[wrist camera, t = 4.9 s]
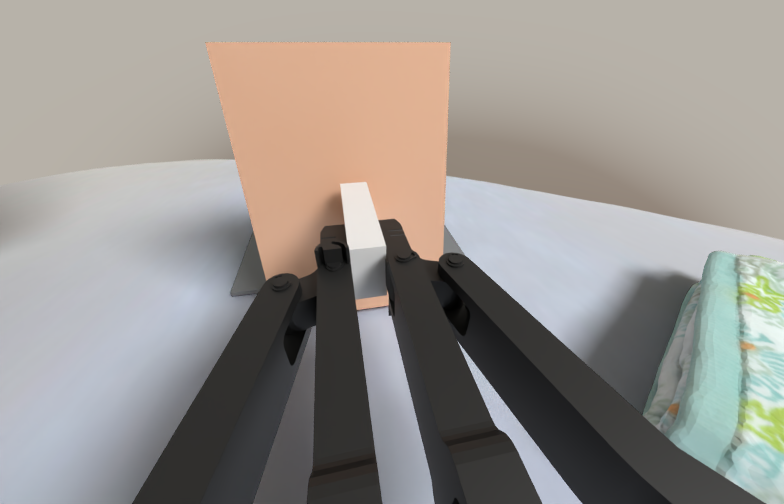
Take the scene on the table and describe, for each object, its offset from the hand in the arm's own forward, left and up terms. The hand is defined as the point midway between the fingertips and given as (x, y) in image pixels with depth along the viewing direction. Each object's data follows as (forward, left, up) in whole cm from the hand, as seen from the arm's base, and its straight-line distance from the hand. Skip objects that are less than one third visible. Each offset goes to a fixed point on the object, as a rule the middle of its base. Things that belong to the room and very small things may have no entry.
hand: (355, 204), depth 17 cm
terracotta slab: (0, 0, -8) cm, 8 cm away
